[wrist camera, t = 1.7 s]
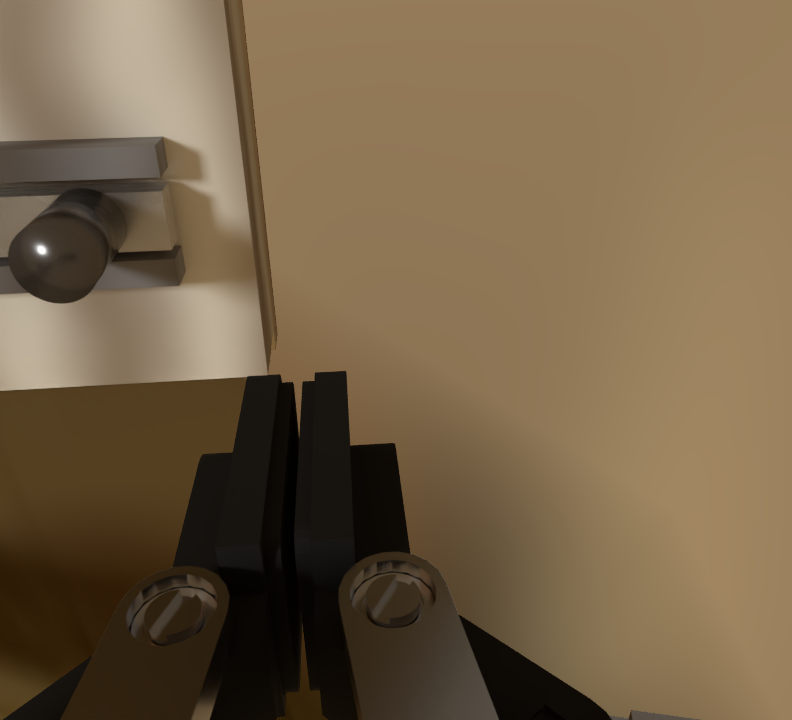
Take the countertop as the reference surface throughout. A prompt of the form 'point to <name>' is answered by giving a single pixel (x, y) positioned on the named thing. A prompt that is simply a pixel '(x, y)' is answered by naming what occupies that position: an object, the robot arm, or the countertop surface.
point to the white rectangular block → (139, 162)
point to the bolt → (80, 232)
